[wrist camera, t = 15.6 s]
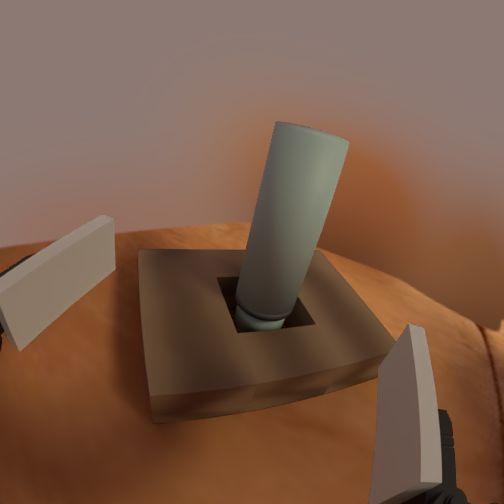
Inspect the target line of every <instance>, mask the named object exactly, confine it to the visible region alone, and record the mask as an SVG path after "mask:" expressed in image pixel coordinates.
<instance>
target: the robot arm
mask: <svg viewBox="0 0 504 504" xmlns="http://www.w3.org/2000/svg"><path fill="white" fill-rule="evenodd" d="M115 269H116V266H115V236H114V219H113V218H110V217H108V216H105V215H100V216H99V217H97V218H95V219H93V220H91V221H90V222H88V223H86V224H84V225H83V226H81V227H79V228H78V229H76V230H74V231H72V232H71V233H69V234H67V235H66V236H64V237H62V238H60V239H59V240H57V241H55V242H54V243H52V244H51V245H49V246H47V247H46V248H44V249H43V250H41V251H39V252H38V253H35V254H32V255H29V256H26V257H25V258H23V259H22V260H20V261H18V262H17V264H14V265H12V266H11V267H9V269H7V270H5V271H4V272H2V273H1V274H0V350H1V345H2V337H1V334H2V333H3V332H5V334H6V336H7V339H8V341H9V343H10V344H12V345H13V346H14V347H15V348H16V349H17V350H18V351H19V352H20V351H21V350H22V349H23V348H25V347H26V346H27V345H28V344H29V343H30V342H31V341H32V340H33V339H34V338H35V337H36V336H38V335H39V334H40V333H41V332H42V331H43V330H44V329H45V328H46V327H48V326H49V325H50V324H51V323H52V322H53V321H54V320H55V319H57V318H58V317H59V316H60V315H61V314H62V313H63V312H65V311H66V310H67V309H68V308H69V307H70V306H72V305H73V304H74V303H75V302H76V301H77V300H79V299H80V298H81V297H82V296H83V295H85V294H86V293H87V292H88V291H89V290H91V289H92V288H93V287H94V286H96V285H97V284H98V283H99V282H100V281H102V280H103V279H104V278H105V277H107V276H108V275H109V274H110V273H112V272H113V271H114V270H115ZM452 436H453V430H452V422H451V420H450V418H449V416H448V414H447V411H446V410H441V409H438V407H437V399H436V391H435V384H434V378H433V371H432V366H431V360H430V354H429V349H428V344H427V339H426V334H425V330H424V328H422V327H419V326H416V325H413V324H410V323H409V324H408V325H407V327H406V328H405V330H404V331H403V333H402V334H401V336H400V337H399V339H398V340H397V342H396V343H395V345H394V346H393V348H392V349H391V350H390V352H389V353H388V355H387V356H386V357H385V359H384V360H383V362H382V363H381V364H380V366H379V367H378V399H377V422H376V438H375V450H374V461H373V470H372V479H371V487H370V494H369V501H368V504H470V503H468V502H467V498H466V495H465V494H464V492H463V491H462V490H460V489H459V488H457V486H456V468H455V452H454V448H453V446H454V440H453V438H452ZM491 504H499V503H491Z"/></svg>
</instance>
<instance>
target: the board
mask: <svg viewBox="0 0 504 504" xmlns="http://www.w3.org/2000/svg"><path fill="white" fill-rule="evenodd" d="M244 255H245V250H186V249H138V291H139V309H140V323H141V335H142V345H143V355H144V364H145V372H146V380H147V387H148V394H149V401H150V407H151V413H152V419H153V423H165V422H176V421H187V420H196V419H204V418H211V417H218V416H225V415H232V414H238V413H243V412H249V411H254V410H260V409H265V408H269V407H274V406H279V405H283V404H288V403H292V402H296V401H300V400H304V399H308V398H312V397H316V396H319V395H323V394H327V393H330V392H334V391H337V390H340V389H344V388H347V387H350V386H353V385H356V384H359V383H362V382H365V381H368V380H371V379H374V378H377V377H378V367H379V366H380V364H381V363H382V362H383V360H384V359H385V357H386V356H387V355H388V353H389V352H390V350H391V349H392V348H393V346H394V345H395V343H396V341H395V340H394V338H393V337H392V336H391V335H390V333H389V332H388V331H387V330H386V328H385V327H384V326H383V325H382V323H381V322H380V321H379V320H378V319H377V317H376V316H375V315H374V314H373V312H372V311H371V310H370V309H369V308H368V306H367V305H366V304H365V303H364V301H363V300H362V299H361V298H360V297H359V295H358V294H357V293H356V292H355V291H354V289H353V288H352V287H351V286H350V285H349V284H348V282H347V281H346V280H345V279H344V278H343V277H342V275H341V274H340V273H339V272H338V271H337V270H336V268H335V267H334V266H333V265H332V264H331V263H330V261H329V260H328V259H327V258H326V257H325V256H324V255H323V253H322V252H321V251H320V250H315V251H314V254H313V256H312V259H311V262H310V265H309V267H308V270H307V273H306V276H305V278H304V281H303V284H302V286H301V289H300V292H299V294H298V297H297V300H296V302H295V305H294V308H293V310H292V312H291V314H290V315H289V316H288V317H287V318H285V320H284V322H283V323H284V324H285V326H286V328H284V329H276V330H267V331H258V332H248V333H237V331H236V328H235V326H234V323H233V320H232V318H231V315H230V313H229V310H228V309H233V308H236V307H237V303H236V300H235V294H236V289H237V285H238V281H239V276H240V272H241V268H242V263H243V259H244Z"/></svg>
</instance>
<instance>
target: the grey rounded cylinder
mask: <svg viewBox="0 0 504 504" xmlns="http://www.w3.org/2000/svg"><path fill="white" fill-rule="evenodd" d="M348 146H349V142H348V141H346V140H344V139H342V138H340V137H337V136H334V135H332V134H329V133H326V132H323V131H320V130H317V129H313V128H310V127H306V126H302V125H298V124H293V123H287V122H279V121H277V122H275V127H274V131H273V135H272V139H271V144H270V148H269V152H268V156H267V160H266V165H265V169H264V173H263V178H262V182H261V186H260V190H259V194H258V199H257V203H256V207H255V212H254V216H253V221H252V224H251V229H250V233H249V237H248V242H247V246H246V250H245V255H244V259H243V263H242V268H241V272H240V276H239V281H238V285H237V289H236V294H235V300H236V303H237V307H236V311H235V317H234V318H235V322H236V324H237V328H236V331H237V333H248V332H258V331H267V330H276V329H281V328H282V325H283V322H284V320H285V318H287V317H288V316H289V315H290V314H291V312H292V310H293V308H294V305H295V302H296V300H297V297H298V294H299V292H300V289H301V286H302V284H303V281H304V278H305V276H306V273H307V270H308V267H309V265H310V262H311V259H312V256H313V254H314V251H315V248H316V245H317V242H318V239H319V236H320V233H321V231H322V228H323V225H324V222H325V219H326V216H327V213H328V210H329V207H330V204H331V200H332V198H333V194H334V191H335V188H336V185H337V182H338V179H339V176H340V172H341V169H342V166H343V163H344V160H345V156H346V153H347V150H348Z"/></svg>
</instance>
